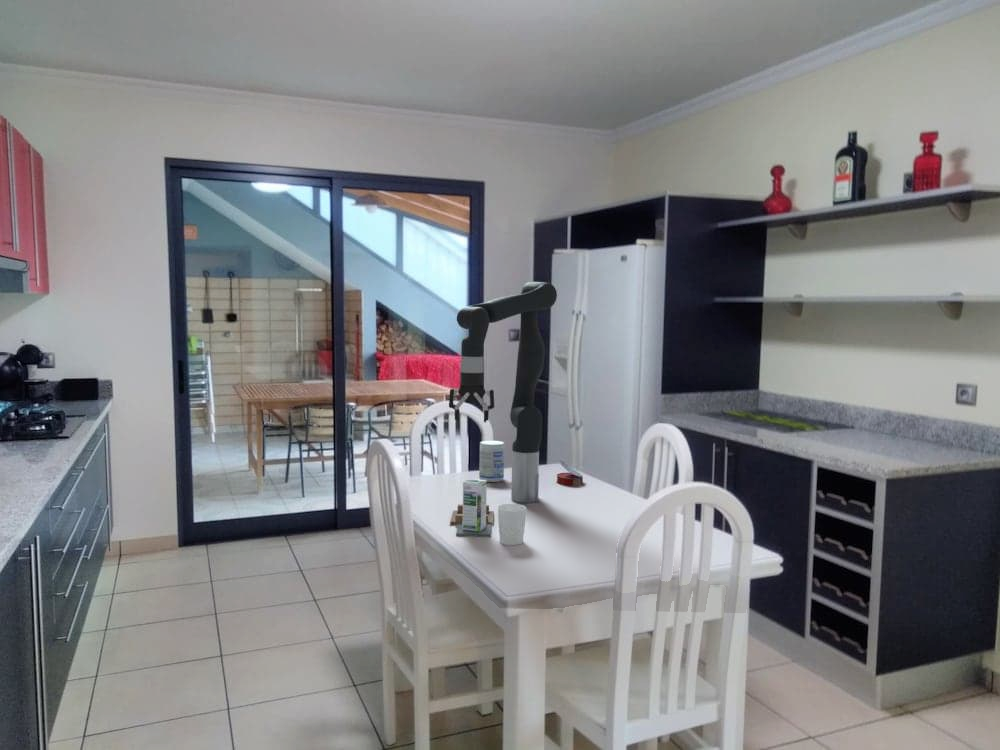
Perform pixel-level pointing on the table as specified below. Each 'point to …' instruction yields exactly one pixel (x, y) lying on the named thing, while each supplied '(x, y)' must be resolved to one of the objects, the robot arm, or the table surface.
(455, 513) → the wooden picture frame
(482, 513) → the syrup box
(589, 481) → the table surface
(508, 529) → the white cup
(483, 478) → the supplement tub
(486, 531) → the thin grey plate
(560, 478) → the canned food
